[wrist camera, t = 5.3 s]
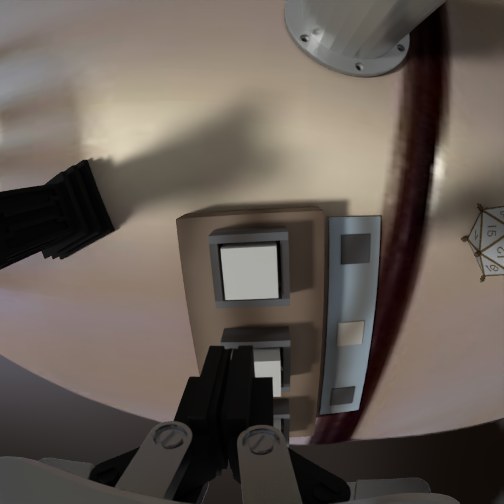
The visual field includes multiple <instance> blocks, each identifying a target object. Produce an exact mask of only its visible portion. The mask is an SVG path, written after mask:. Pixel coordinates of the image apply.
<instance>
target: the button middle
mask: <svg viewBox="0 0 504 504" xmlns="http://www.w3.org/2000/svg"><path fill="white" fill-rule="evenodd" d="M233 349H238V348H233ZM233 349H232V353H233ZM253 354H254V368H255V377H273V397H281V367H280V347H266V348H253ZM231 358H232V354H231Z"/></svg>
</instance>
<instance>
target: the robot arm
mask: <svg viewBox="0 0 504 504" xmlns="http://www.w3.org/2000/svg"><path fill="white" fill-rule="evenodd" d="M445 1H447V0H286V3H285V9H284V20H285V24H286V28H287V30H288V32H289V34H290V36H291V38H292V40H293V41H294V42H295V43H296V45H297V46H298V47H299V48H300V49H301V50H302V51H303V52H304V53H305V54H306V55H307V56H308V57H310V58H311V59H313V60H314V61H315V62H317V63H318V64H320V65H322V66H324V67H326V68H328V69H330V70H333V71H335V72H338V73H341V74H345V75H350V76H355V77H371V76H378V75H381V74H384V73H387V72H389V71H390V70H392V69H393V68H395V67H396V66H397V65H398V64H400V63H401V62H402V61H403V59H404V58H405V56H406V55H407V52H408V49H409V44H410V35H409V33H410V32H411V31H412V30H413V29H414V28H415V27H416V26H418V25H419V24H420V23H421V22H422V21H423V20H424V19H425V18H427V17H428V16H429V15H430V14H431V13H432V12H434V11H435V10H436V9H437V8H438V7H439V6H441V5H442V4H443V3H444V2H445ZM302 40H305V41H306V42H303V41H302ZM356 67H358V68H359V70H358V69H357V68H356ZM228 459H229V463H230V467H231V469H232V472H233V476H234V479H235V480H236V481H237V482H239V483H240V484H241V487H242V495H243V504H460V503H459V502H458V501H456V500H455V499H453V498H451V497H449V496H445V495H441V494H434V493H431V492H430V488H429V485H428V484H427V483H426V482H425V481H424V480H421V479H419V478H402V479H385V480H357V482H354V483H353V482H345V481H344V480H343V479H341V478H339V477H337V476H336V475H334V474H332V473H330V472H328V471H326V470H325V469H323V468H321V467H319V466H318V465H316V464H314V463H313V462H311V461H309V460H307V459H306V458H304V457H302V456H301V455H299V454H297V453H296V452H294V451H293V450H291V449H290V448H288V447H287V444H286V440H285V437H284V435H283V433H282V432H281V431H280V430H279V429H277V428H275V427H274V413H273V377H255V368H254V354H253V345H240V346H238V349H233V353H232V358H231V356H230V350H229V349H225V347H224V346H210V347H209V349H208V353H207V356H206V359H205V362H204V365H203V368H202V371H201V375H200V377H189V379H188V382H187V385H186V388H185V390H184V393H183V396H182V399H181V402H180V404H179V407H178V410H177V413H176V416H175V418H174V421H168V422H163V423H160V424H158V425H157V426H155V427H154V428H153V429H152V430H151V431H150V433H149V434H148V436H147V437H146V439H145V441H144V442H143V444H142V445H141V447H139V448H136V449H134V450H132V451H129V452H127V453H125V454H122V455H120V456H117V457H115V458H112V459H110V460H107V461H105V462H102V463H100V464H98V465H96V466H93V465H92V464H91V463H83V462H75V461H67V460H60V459H54V458H45V459H41V460H40V461H39V462H38V461H34V460H30V459H26V458H20V457H0V504H202V501H203V499H204V496H205V494H206V491H207V489H208V484H209V483H208V482H209V481H210V480H212V479H214V478H215V477H216V476H221V471H222V469H227V466H228Z"/></svg>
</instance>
